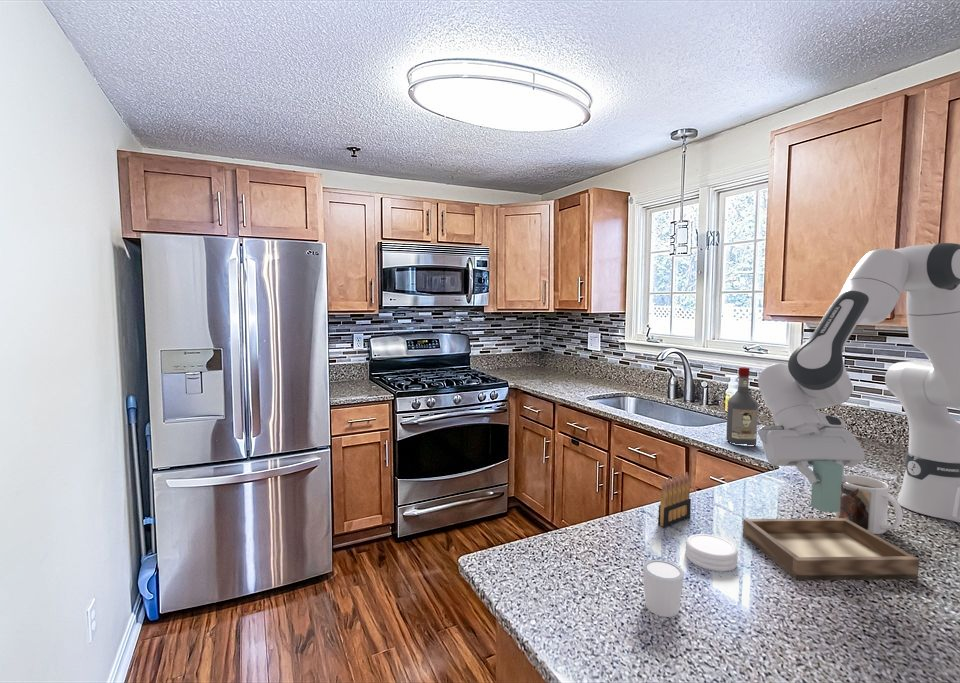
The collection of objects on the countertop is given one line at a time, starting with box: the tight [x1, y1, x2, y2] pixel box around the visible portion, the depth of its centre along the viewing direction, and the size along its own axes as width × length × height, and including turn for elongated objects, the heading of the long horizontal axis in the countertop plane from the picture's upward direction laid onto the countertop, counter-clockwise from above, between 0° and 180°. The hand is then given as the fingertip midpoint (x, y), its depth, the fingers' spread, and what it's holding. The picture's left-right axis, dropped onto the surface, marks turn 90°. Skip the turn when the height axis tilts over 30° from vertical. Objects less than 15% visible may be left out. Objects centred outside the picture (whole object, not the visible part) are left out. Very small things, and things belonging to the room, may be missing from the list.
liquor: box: [725, 366, 759, 445], centre depth 188 cm, size 9×9×30 cm
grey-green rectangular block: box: [810, 461, 843, 513], centre depth 102 cm, size 4×3×10 cm
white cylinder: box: [642, 559, 685, 618], centre depth 85 cm, size 7×7×7 cm
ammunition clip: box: [657, 471, 692, 529], centre depth 119 cm, size 11×2×12 cm, turn 123°
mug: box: [835, 474, 904, 535], centre depth 116 cm, size 10×12×11 cm
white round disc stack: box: [684, 533, 739, 572], centre depth 102 cm, size 10×10×4 cm
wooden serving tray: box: [742, 517, 920, 581], centre depth 103 cm, size 24×18×4 cm
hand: (828, 483), depth 102 cm, fingers closed on grey-green rectangular block, 4 cm apart
